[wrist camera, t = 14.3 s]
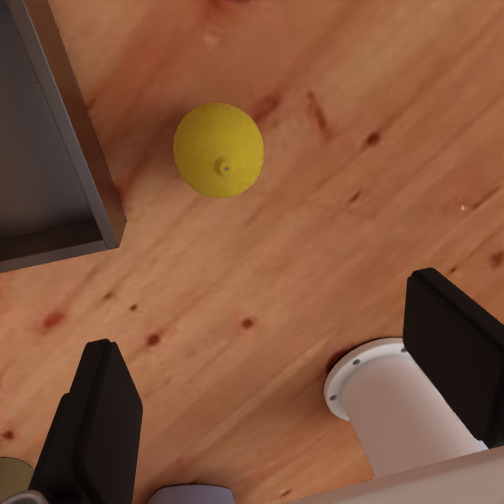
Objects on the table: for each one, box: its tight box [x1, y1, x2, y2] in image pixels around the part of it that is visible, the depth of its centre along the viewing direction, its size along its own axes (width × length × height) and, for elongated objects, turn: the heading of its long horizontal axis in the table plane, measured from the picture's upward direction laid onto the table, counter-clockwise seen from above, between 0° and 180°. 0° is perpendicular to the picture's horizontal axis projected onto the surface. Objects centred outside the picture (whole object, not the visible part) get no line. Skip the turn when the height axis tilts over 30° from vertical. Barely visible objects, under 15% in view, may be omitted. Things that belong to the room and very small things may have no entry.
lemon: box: [173, 102, 264, 198], centre depth 22 cm, size 6×6×8 cm
